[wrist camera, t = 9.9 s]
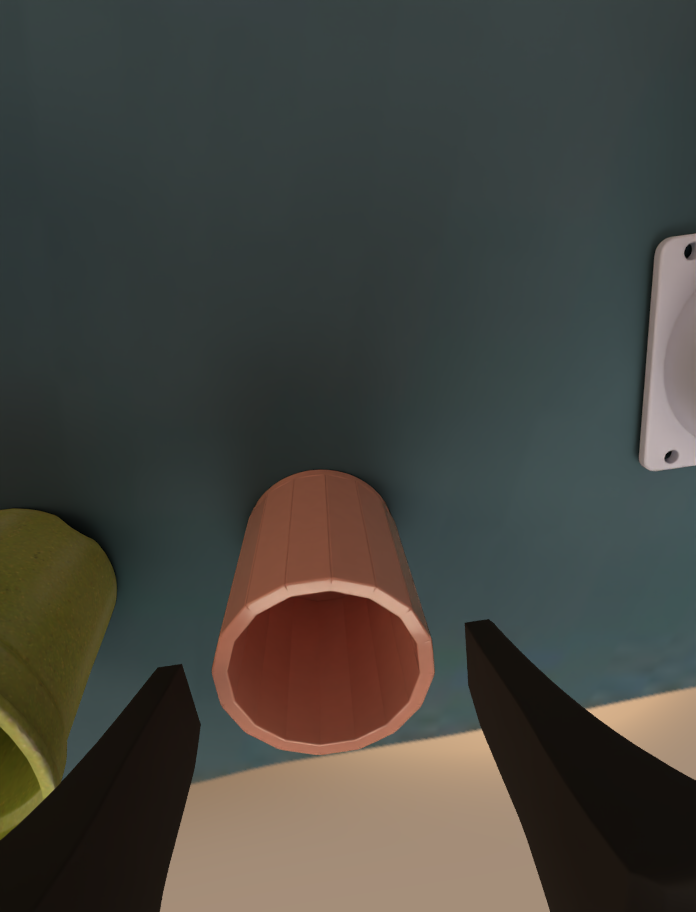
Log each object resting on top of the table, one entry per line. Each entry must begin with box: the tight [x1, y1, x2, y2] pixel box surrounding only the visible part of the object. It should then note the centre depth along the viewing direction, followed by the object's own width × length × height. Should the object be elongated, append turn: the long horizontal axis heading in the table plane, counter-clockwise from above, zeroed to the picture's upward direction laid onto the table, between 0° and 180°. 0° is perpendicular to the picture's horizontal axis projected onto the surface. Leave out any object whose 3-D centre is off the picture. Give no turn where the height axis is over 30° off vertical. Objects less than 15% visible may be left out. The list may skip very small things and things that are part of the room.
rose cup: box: [212, 470, 435, 755], centre depth 16 cm, size 6×6×7 cm
